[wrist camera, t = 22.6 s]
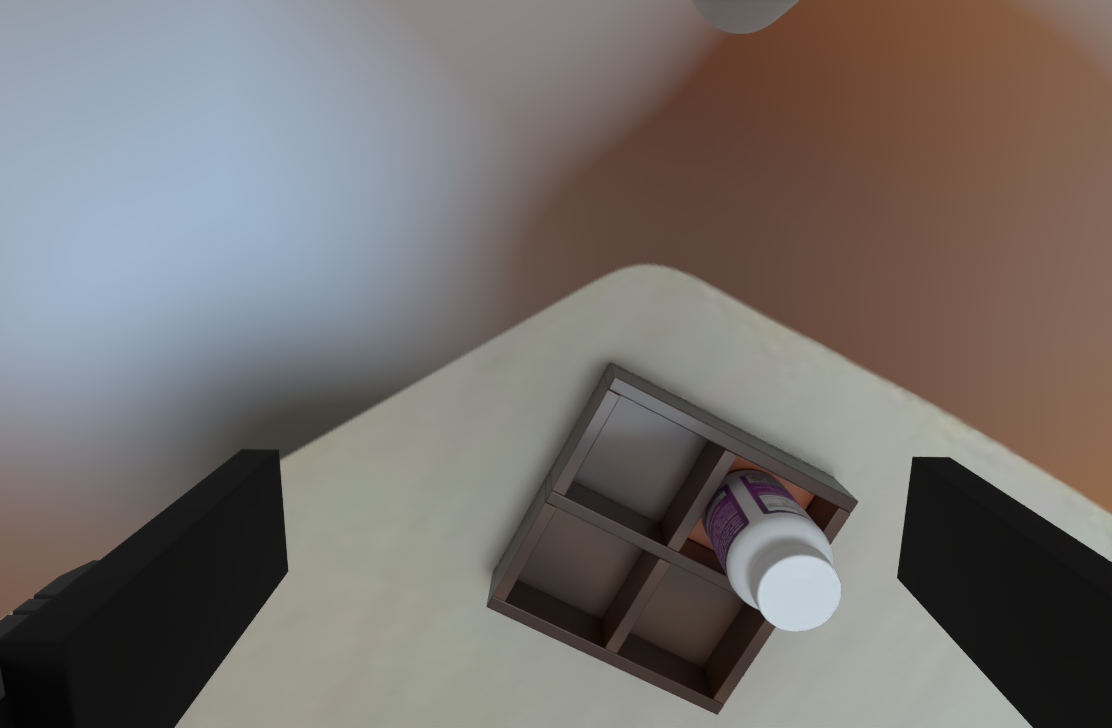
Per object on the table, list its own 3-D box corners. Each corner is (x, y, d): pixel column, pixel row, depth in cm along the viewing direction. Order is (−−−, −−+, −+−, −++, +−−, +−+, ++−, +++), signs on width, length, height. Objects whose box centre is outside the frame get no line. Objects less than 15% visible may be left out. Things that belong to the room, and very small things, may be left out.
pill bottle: (728, 565, 43) (776, 666, 34) (683, 497, 42) (719, 581, 33) (806, 520, 43) (877, 609, 33) (762, 450, 42) (822, 521, 32)
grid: (610, 361, 41) (615, 376, 38) (834, 477, 43) (859, 501, 40) (491, 575, 44) (486, 607, 41) (705, 676, 46) (717, 715, 42)
